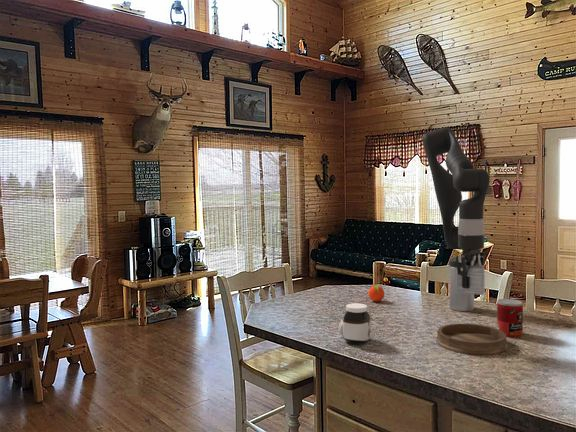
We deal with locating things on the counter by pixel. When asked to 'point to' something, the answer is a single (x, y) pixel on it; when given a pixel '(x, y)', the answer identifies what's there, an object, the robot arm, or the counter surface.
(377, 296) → the clementine
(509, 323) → the canned food
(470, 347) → the round wooden tray
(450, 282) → the robot arm
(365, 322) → the spread jar
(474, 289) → the medicine box
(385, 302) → the counter surface
